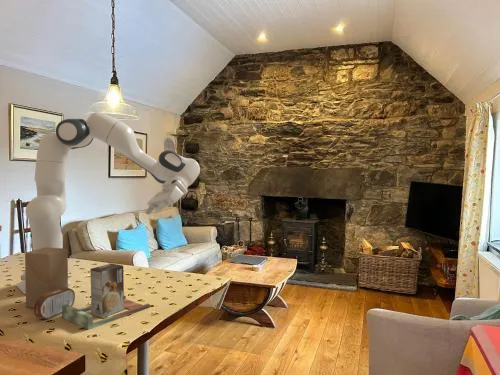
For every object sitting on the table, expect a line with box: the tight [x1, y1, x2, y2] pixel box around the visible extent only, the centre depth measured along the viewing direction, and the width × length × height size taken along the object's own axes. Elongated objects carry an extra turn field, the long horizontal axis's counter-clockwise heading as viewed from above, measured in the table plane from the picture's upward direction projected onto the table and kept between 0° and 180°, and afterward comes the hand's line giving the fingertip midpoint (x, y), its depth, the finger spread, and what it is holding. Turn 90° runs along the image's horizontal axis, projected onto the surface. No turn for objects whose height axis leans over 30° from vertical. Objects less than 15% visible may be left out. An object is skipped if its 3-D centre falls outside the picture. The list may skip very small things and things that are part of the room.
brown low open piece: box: [61, 295, 151, 330], centre depth 131 cm, size 16×24×4 cm, turn 144°
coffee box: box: [89, 263, 125, 319], centre depth 131 cm, size 9×6×16 cm
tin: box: [33, 287, 76, 320], centre depth 129 cm, size 15×3×8 cm, turn 159°
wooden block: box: [24, 247, 69, 309], centre depth 138 cm, size 10×10×20 cm
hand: (151, 212), depth 149 cm, fingers open, 8 cm apart
